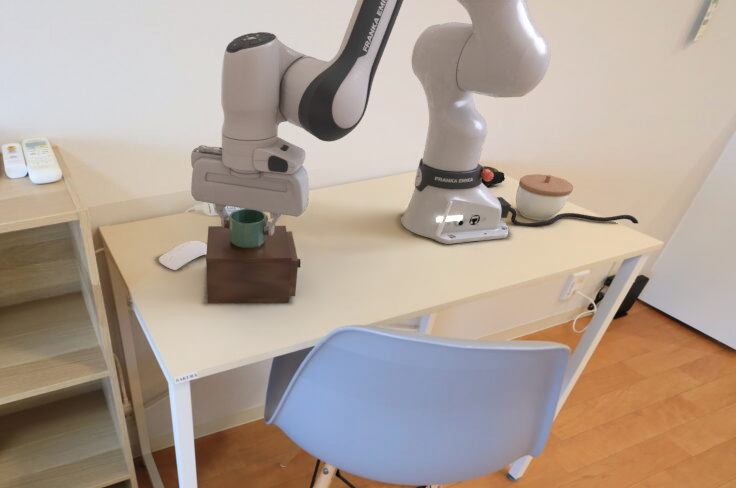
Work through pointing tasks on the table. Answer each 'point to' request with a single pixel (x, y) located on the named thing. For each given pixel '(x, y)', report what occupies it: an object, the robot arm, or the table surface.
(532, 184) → the trinket box
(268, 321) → the table surface
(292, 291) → the drawer
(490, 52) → the robot arm
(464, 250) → the table surface
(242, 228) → the cylindrical container
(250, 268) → the cabinet
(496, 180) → the tape measure
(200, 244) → the white curved flat piece
